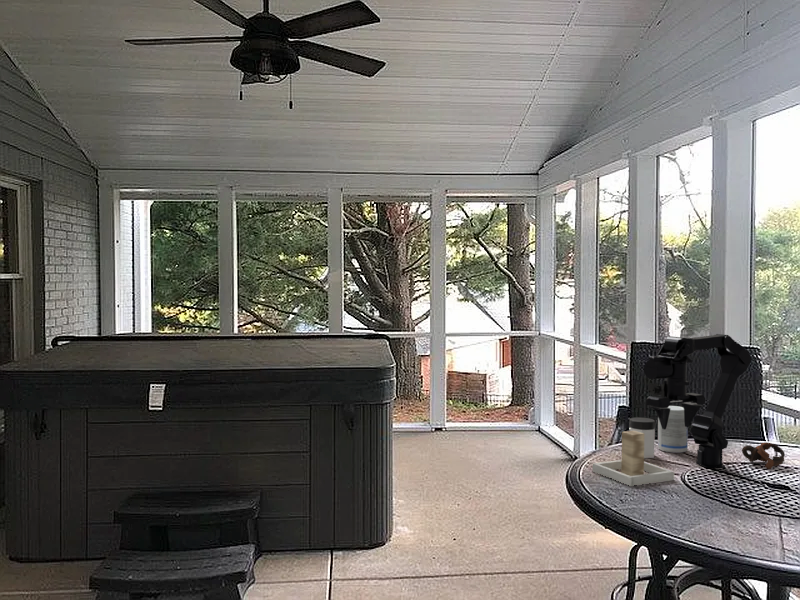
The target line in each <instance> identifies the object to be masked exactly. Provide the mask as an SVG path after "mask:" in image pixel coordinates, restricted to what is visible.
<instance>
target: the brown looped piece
mask: <svg viewBox="0 0 800 600" xmlns="http://www.w3.org/2000/svg"><path fill="white" fill-rule="evenodd" d="M770 448H772V449H773V451H774V452H775V453H779V454H780V456H776V455H775V456H774V455H773V456H772V458H770V453H768V452H767V450H770ZM741 452H742V454H743V456H744V457H745V458H746V459H748V460H749V462H750V463H751V462H752V463H753V462H756V461H760V462H764V461H765V462H764V463H766V464H764V467H765V468H766V469H768V470H771V469H772V468H773V467H778V466H781V465H782V464H783V465H784V462H785V456H786V455H785V451H784V450H783V449H782V448H781V447H780V446H778V445H777V444H774V443H772V442H766V441H765V442H761V443H760V445H757V446H756V447H755V446H752V445H750V444H749V445H744V446H743V447H742V448H741ZM748 452H750V454H749V453H748Z"/></svg>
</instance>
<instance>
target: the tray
mask: <svg viewBox="0 0 800 600" xmlns="http://www.w3.org/2000/svg"><path fill="white" fill-rule="evenodd" d="M621 462H622V459H618V460H612V461H611V460H610V461H602V462H593V463H592V472H593V473H595V474H597V473H598V474H597V475H600V474H601V475H600V476H602V475H603V476H602V477H605V476H606V477H605V478H607V477H609V478H608V479H610V478H612V479H611V480H613V479H614V480H613V481H615V480H616V482H618V481H619V482H618V483H620V482H621V484H623V483H624V484H623V485H625V484H627V485H626V486H628V485H629V486H628V487H635V486H634V485H637V486H642V484H644V485H649V483H651V484H655V483H656V484H657V483H662V482H670V481H675V471H673V470H670V469H668V468H666V467H661V466H658V465H656V464H654V463H653V464H652V463H649V462H646V461H644V472H645V471H646V473H644V474H643V475H635V476H629V475H626V474H624V473H621V472H620V471H619V470H621ZM617 469H619V470H617ZM648 472H649V473H648Z"/></svg>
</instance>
